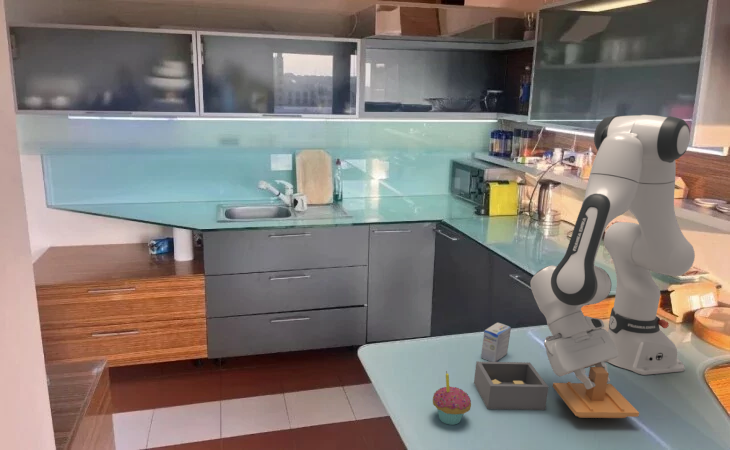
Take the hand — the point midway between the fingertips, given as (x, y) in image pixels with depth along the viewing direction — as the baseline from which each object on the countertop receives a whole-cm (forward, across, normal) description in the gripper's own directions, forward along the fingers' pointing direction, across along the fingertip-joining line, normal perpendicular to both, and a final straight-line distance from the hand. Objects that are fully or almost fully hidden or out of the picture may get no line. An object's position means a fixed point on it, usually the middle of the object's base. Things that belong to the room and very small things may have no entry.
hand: (598, 385), depth 133 cm
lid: (+4, 0, +5) cm, 6 cm away
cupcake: (-4, -33, +15) cm, 36 cm away
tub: (-5, -13, +16) cm, 21 cm away
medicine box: (-17, -1, +28) cm, 33 cm away
